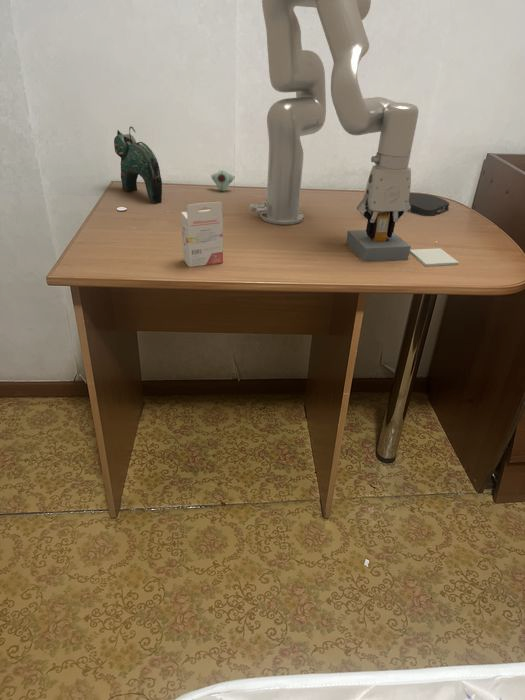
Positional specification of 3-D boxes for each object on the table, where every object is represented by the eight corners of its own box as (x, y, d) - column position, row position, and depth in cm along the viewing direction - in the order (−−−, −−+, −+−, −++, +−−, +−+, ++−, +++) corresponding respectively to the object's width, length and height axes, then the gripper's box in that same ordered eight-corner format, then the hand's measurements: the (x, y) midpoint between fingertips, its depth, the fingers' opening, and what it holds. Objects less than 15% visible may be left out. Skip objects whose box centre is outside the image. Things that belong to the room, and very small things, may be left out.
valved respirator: (235, 190, 172) (235, 169, 168) (233, 194, 168) (234, 172, 165) (211, 188, 172) (211, 167, 168) (209, 192, 169) (209, 171, 165)
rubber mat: (425, 266, 127) (426, 264, 126) (408, 252, 134) (409, 249, 134) (458, 264, 129) (458, 262, 128) (439, 250, 136) (440, 248, 136)
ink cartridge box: (216, 255, 126) (216, 195, 118) (223, 263, 123) (223, 201, 114) (182, 259, 123) (179, 198, 115) (188, 267, 119) (186, 205, 111)
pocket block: (363, 261, 127) (365, 248, 125) (345, 243, 137) (347, 230, 135) (407, 259, 130) (410, 246, 128) (387, 241, 140) (390, 229, 138)
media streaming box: (412, 198, 175) (414, 189, 174) (452, 209, 167) (454, 200, 165) (388, 206, 167) (390, 197, 165) (428, 219, 158) (430, 209, 157)
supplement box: (367, 248, 135) (374, 210, 129) (380, 248, 135) (387, 211, 130) (371, 253, 132) (378, 215, 126) (384, 253, 132) (391, 215, 127)
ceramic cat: (116, 189, 166) (109, 122, 155) (134, 186, 170) (128, 120, 159) (150, 205, 155) (145, 134, 144) (168, 202, 158) (165, 132, 147)
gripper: (365, 165, 116) (353, 242, 126) (432, 165, 120) (415, 240, 130) (353, 157, 122) (342, 231, 132) (417, 157, 126) (402, 229, 136)
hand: (379, 235), depth 131 cm, fingers open, 4 cm apart
